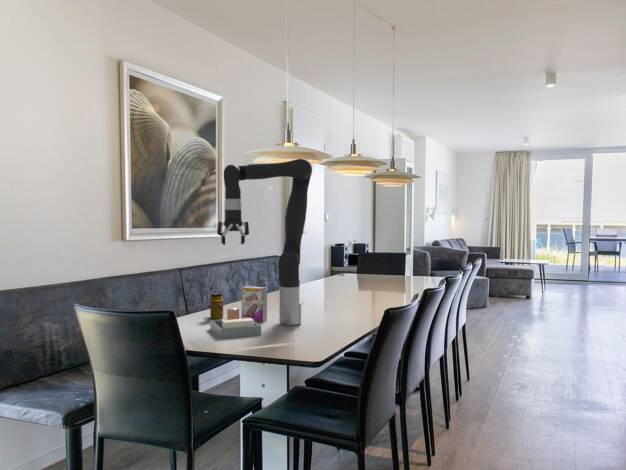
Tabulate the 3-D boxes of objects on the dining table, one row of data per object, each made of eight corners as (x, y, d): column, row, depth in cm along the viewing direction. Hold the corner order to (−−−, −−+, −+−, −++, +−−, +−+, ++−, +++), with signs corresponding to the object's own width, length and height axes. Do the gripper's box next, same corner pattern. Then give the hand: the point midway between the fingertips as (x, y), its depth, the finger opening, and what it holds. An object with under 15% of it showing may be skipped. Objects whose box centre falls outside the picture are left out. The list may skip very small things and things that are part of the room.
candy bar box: (240, 322, 236) (240, 287, 235) (245, 320, 240) (245, 285, 240) (262, 324, 232) (262, 288, 231) (267, 322, 237) (267, 287, 236)
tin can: (237, 328, 219) (237, 307, 219) (240, 330, 215) (240, 309, 214) (226, 329, 217) (225, 308, 217) (229, 331, 213) (228, 310, 212)
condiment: (226, 319, 243) (226, 294, 243) (209, 321, 239) (209, 295, 238) (220, 316, 249) (220, 292, 249) (203, 318, 245) (203, 293, 244)
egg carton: (250, 331, 214) (250, 317, 213) (254, 334, 209) (254, 320, 209) (221, 334, 209) (221, 320, 209) (224, 336, 204) (224, 322, 204)
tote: (248, 327, 225) (248, 317, 225) (261, 336, 208) (261, 326, 208) (210, 331, 218) (210, 320, 218) (220, 341, 201) (219, 329, 201)
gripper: (219, 208, 227) (219, 245, 227) (250, 209, 232) (250, 244, 233) (215, 209, 234) (215, 244, 234) (245, 209, 239) (246, 243, 240)
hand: (233, 244), depth 234 cm, fingers open, 8 cm apart
